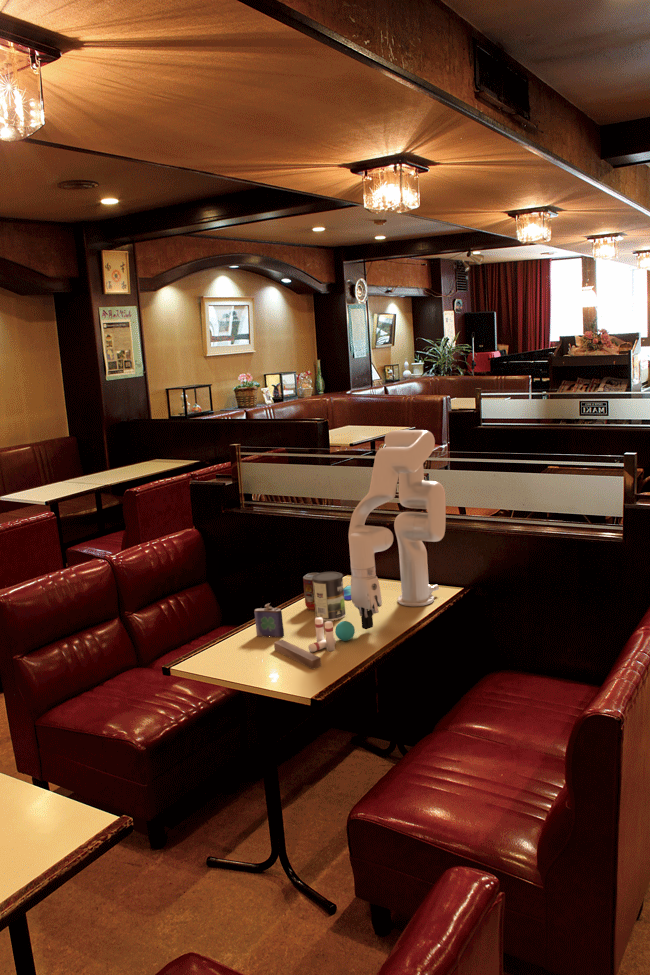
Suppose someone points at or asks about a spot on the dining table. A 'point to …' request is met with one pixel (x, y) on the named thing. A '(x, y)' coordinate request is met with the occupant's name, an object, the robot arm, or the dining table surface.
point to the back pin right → (319, 629)
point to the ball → (344, 630)
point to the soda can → (309, 591)
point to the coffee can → (329, 595)
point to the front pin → (318, 645)
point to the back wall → (297, 654)
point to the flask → (269, 622)
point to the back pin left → (329, 636)
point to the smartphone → (347, 592)
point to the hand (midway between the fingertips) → (367, 627)
